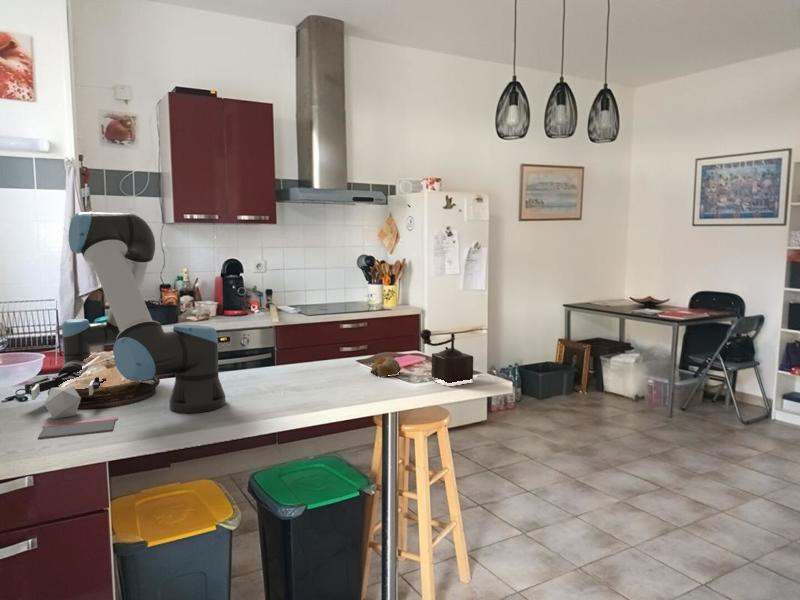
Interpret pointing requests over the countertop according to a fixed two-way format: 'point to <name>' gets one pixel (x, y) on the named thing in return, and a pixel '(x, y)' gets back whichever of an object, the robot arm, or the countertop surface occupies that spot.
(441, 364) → the manual coffee grinder
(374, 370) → the mottled brown round lump
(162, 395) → the countertop surface
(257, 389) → the countertop surface
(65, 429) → the mat
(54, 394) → the die
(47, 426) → the line
